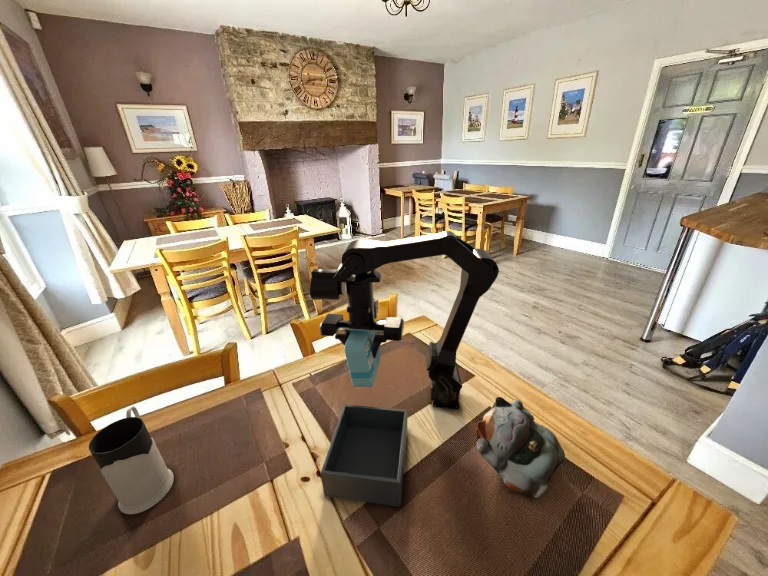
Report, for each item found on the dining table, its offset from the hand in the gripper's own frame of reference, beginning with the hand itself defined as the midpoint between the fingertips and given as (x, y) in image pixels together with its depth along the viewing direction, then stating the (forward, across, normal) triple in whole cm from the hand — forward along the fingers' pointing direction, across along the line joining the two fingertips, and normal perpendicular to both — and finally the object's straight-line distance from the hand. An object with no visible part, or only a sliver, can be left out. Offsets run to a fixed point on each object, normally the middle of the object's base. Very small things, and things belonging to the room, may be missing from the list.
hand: (364, 356), depth 75 cm
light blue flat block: (+5, -1, 0) cm, 5 cm away
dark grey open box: (+13, -4, +17) cm, 22 cm away
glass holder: (+13, +38, +27) cm, 49 cm away
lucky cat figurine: (+13, -33, +14) cm, 38 cm away
